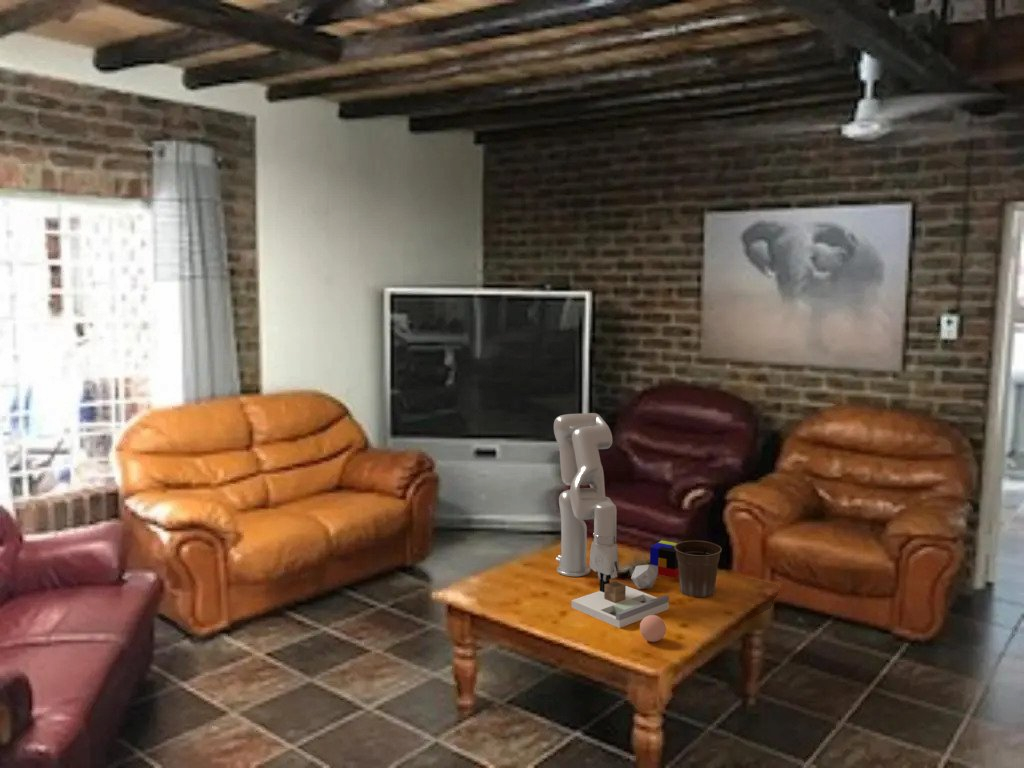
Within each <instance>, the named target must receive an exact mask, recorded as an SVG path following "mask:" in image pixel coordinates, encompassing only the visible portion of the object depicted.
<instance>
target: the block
mask: <svg viewBox="0 0 1024 768" xmlns="http://www.w3.org/2000/svg"><path fill="white" fill-rule="evenodd" d="M626 586H627V585H625V584H623V583H620V582H618V581H611V582H610V583H608V584H605V588H604V599H606V600H609V601H611V602H613V603H617V602H620V601H623V600H625V594H626Z"/></svg>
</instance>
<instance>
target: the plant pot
mask: <svg viewBox="0 0 1024 768" xmlns="http://www.w3.org/2000/svg"><path fill="white" fill-rule="evenodd" d="M674 548H675V550H676V557H677V560H678V570H679V575H678V579H679V580H678V581H679V591H680V592H681V593H682V594H683V595H685V596H687V597H688V596H689V597H690V596H693V597H694V598H706V597H707V598H708V597H711V596H713V595H714V593H716V585H717V584H716V583H717V576H718V566H719V562H720V559H721V558H720V556H721V553H722V550H723V548H722V547H721V546H720V545H718V544H717V543H715V542H714V543H713V542H712V541H711V542H710V541H706V540H705V541H704V540H684V541H680V542H678V543H677V544H676V545H675V546H674Z"/></svg>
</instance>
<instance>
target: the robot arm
mask: <svg viewBox="0 0 1024 768" xmlns="http://www.w3.org/2000/svg"><path fill="white" fill-rule="evenodd" d="M553 433H554V436H555V437H554V438H555V441H556V443H557V446H558V449H559V462H560V463H559V464H560V476H561V480H562V483H563V484H564V485H565V486H570V489H566V490H564V491H562V492H561V493H560V494H559V496H558V504H559V512H560V521H561V526H560V530H561V531H560V535H561V541H560V542H561V543H560V545H561V548H560V549H561V553H560V554H558V555H557V556H556V557H555V561H556V562H558V563H559V565H558V566H557V567H556V571H557V573H558V574H561V575H563V576H566V577H576V578H577V577H582V576H587V575H589V574H590V573H591V571H593V572H595V573H596V575H597V577H598V578H597V579H598V580H599V591H601V592H604V588H605V584H608V583H611V582H610V581H611V580H612V579H616V578H618V573H619V571H620V570H619V569H620V559H619V558H620V556H619V550H618V549H619V548H618V544H617V514H618V513H617V505H616V504H614V502H613V501H612V500H611V498H610V497H608V496H606V489H605V475H604V474H605V473H604V469H603V465H602V462H601V457H600V452H599V450H608V449H610V447H611V446H612V444H613V435H612V434H613V433H612V431H611V428H610V426H609V425H608V424H607V423H606V421H605V420H604V419H603V417H601V415H600V414H598V413H596V412H589V413H588V412H585V413H567V414H566V413H565V414H562V415H559V416H557V417H556V418H555V419H554V422H553ZM588 485H589V486H590V487H588V488H580V487H581V486H588ZM588 520H593V534H592V536H593V540H592V542H591V546H590V552H589V553H590V554H589V565H588V564H587V545H588V544H587V541H588V540H587V534H588V531H587V529H588V527H587V524H586V522H585V521H588Z"/></svg>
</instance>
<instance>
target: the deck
mask: <svg viewBox="0 0 1024 768" xmlns="http://www.w3.org/2000/svg"><path fill="white" fill-rule="evenodd" d="M570 602H571V606H570V607H571V609H573V610H576V611H579V612H581V613H583V614H586V615H588V616H591V617H593V618H595V619H597V620H599V621H602V622H604V623H607V624H609V625H611V626H614V627H615V628H618V629H620V628H623V627H625V626H628V625H630V624H631V625H632V624H634V623H636V622H639V621H642V620H643V619H644V618H645V617H646V616H649V615H658V614H661V613H662V612H664V611H668V610H669V609H670V596H669V595H667V594H664V595H661V596H659V597H656V596H654V595H651V594H649V593H646V592H644V591H641V590H639V589H635V588H633V587H630V586H627V585H626V594H625V600H623V601H620V602H617V603H613V602H611V601H609V600H606V599H604V592H601V591H600V590H598V591H596V592H592V593H589V594H586V595H583V596H581V597H578V598H575V599H571V601H570Z"/></svg>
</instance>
